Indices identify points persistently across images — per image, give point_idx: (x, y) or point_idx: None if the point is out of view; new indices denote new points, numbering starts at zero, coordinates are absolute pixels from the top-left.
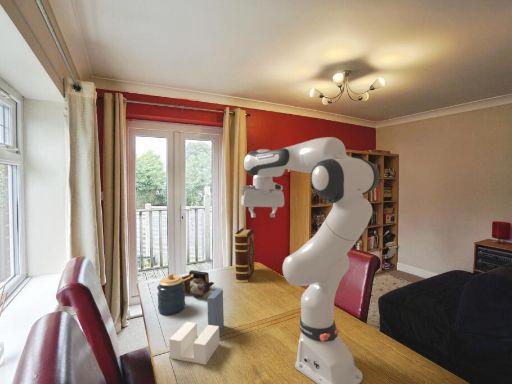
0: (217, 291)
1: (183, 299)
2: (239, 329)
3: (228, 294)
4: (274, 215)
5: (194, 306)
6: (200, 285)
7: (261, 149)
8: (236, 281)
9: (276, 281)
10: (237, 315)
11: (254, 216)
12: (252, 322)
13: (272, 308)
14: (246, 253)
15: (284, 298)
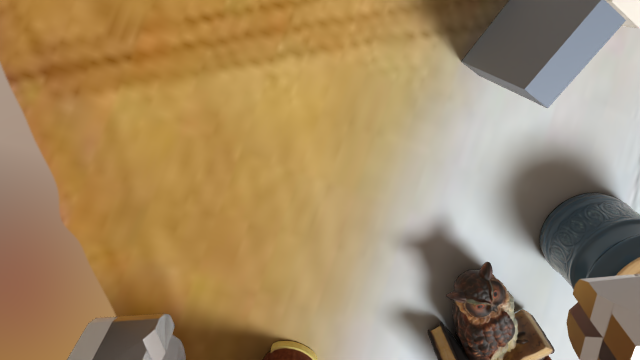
0: (555, 76)
1: (569, 231)
2: (419, 13)
3: (373, 271)
4: (86, 340)
5: (510, 223)
6: (498, 295)
7: None
8: (315, 355)
9: None
10: (393, 112)
11: (630, 280)
12: (359, 43)
13: (251, 116)
14: None
15: (176, 175)
